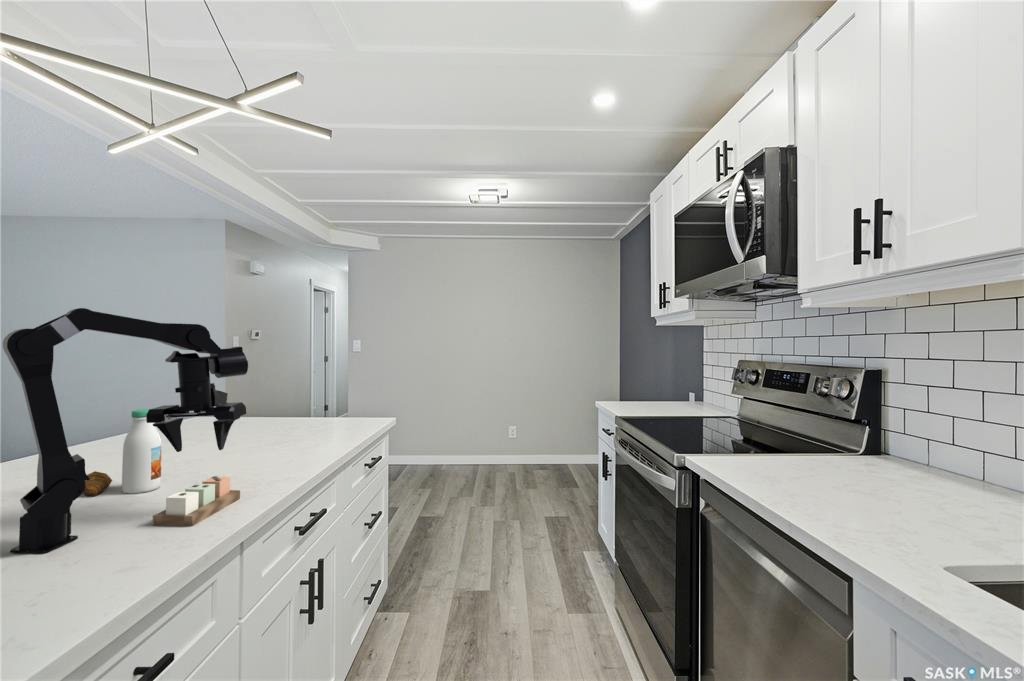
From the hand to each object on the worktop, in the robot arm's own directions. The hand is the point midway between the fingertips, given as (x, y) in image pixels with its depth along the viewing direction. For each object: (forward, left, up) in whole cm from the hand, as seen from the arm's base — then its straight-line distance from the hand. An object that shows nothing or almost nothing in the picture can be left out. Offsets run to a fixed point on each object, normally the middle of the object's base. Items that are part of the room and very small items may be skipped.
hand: (200, 450), depth 105 cm
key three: (+5, -1, -12) cm, 13 cm away
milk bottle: (+14, +23, -13) cm, 30 cm away
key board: (-1, -1, -13) cm, 13 cm away
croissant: (+13, +34, -14) cm, 39 cm away
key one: (-6, -1, -12) cm, 13 cm away
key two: (-1, -1, -12) cm, 12 cm away
